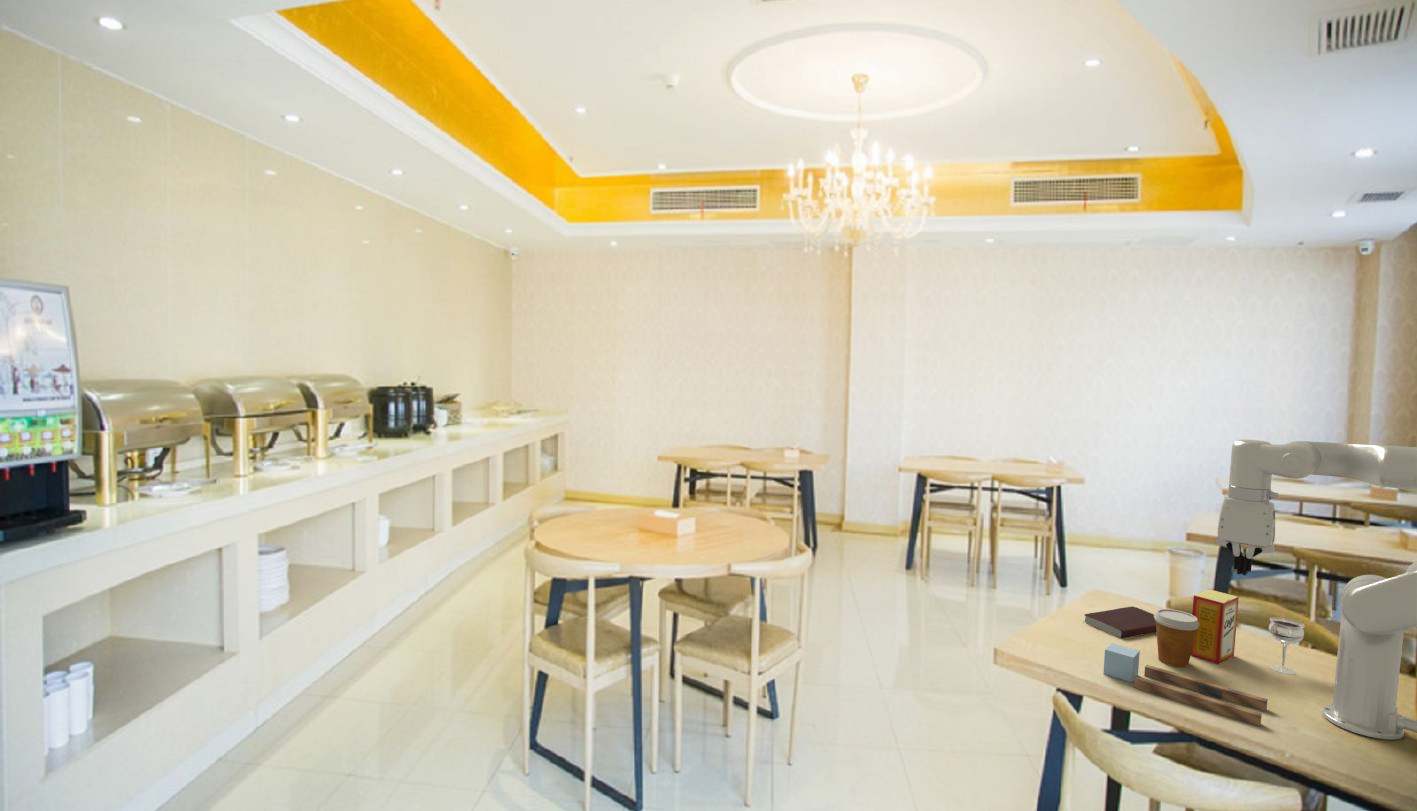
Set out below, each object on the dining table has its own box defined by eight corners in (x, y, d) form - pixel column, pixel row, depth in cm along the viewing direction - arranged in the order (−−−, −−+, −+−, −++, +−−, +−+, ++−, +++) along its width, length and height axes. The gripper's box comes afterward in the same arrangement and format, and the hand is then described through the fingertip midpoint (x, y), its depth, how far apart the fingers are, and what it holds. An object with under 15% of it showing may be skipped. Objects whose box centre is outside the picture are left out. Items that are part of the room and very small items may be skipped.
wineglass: (1302, 678, 169) (1307, 630, 168) (1267, 671, 172) (1271, 623, 171) (1298, 668, 174) (1302, 621, 174) (1263, 661, 178) (1267, 615, 177)
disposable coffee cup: (1203, 672, 171) (1207, 624, 170) (1160, 667, 173) (1163, 620, 172) (1185, 655, 181) (1189, 610, 180) (1144, 651, 182) (1147, 606, 181)
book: (1172, 632, 197) (1172, 620, 197) (1121, 640, 190) (1122, 628, 190) (1131, 616, 209) (1132, 605, 209) (1082, 623, 202) (1083, 612, 202)
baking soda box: (1204, 646, 186) (1209, 587, 185) (1233, 655, 181) (1238, 595, 180) (1189, 654, 181) (1193, 594, 180) (1218, 664, 176) (1223, 601, 175)
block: (1138, 674, 169) (1139, 650, 168) (1131, 682, 165) (1133, 657, 165) (1110, 666, 173) (1111, 643, 173) (1103, 673, 169) (1105, 649, 169)
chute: (1266, 708, 154) (1267, 699, 154) (1259, 726, 146) (1260, 716, 146) (1146, 673, 170) (1146, 664, 170) (1134, 687, 162) (1134, 678, 162)
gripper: (1293, 497, 157) (1286, 577, 159) (1212, 487, 168) (1206, 562, 169) (1289, 502, 152) (1281, 585, 153) (1205, 491, 162) (1199, 569, 164)
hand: (1242, 573), depth 161 cm, fingers closed
